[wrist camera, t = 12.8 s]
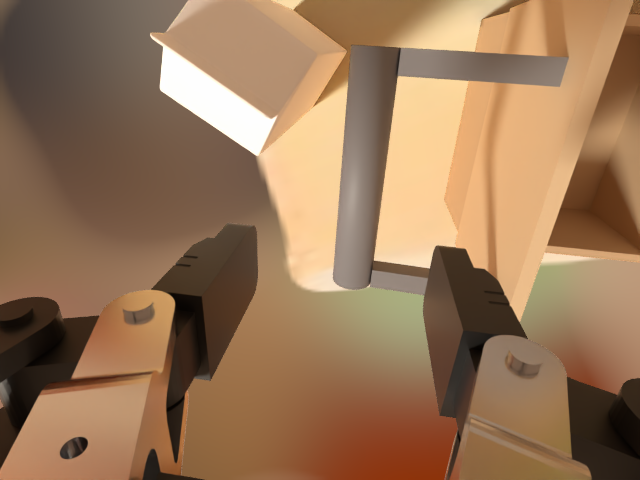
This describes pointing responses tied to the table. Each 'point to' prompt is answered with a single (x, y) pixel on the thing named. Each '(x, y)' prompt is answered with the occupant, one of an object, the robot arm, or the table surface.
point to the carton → (592, 164)
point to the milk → (246, 66)
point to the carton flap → (484, 140)
